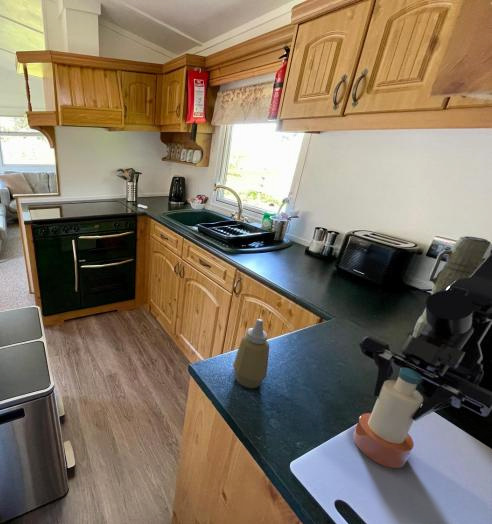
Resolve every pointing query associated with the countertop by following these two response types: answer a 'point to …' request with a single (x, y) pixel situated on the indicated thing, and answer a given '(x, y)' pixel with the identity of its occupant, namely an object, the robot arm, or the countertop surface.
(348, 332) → the countertop surface
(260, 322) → the squeeze bottle
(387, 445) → the orange short round piece
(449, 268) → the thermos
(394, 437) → the cream bottle
